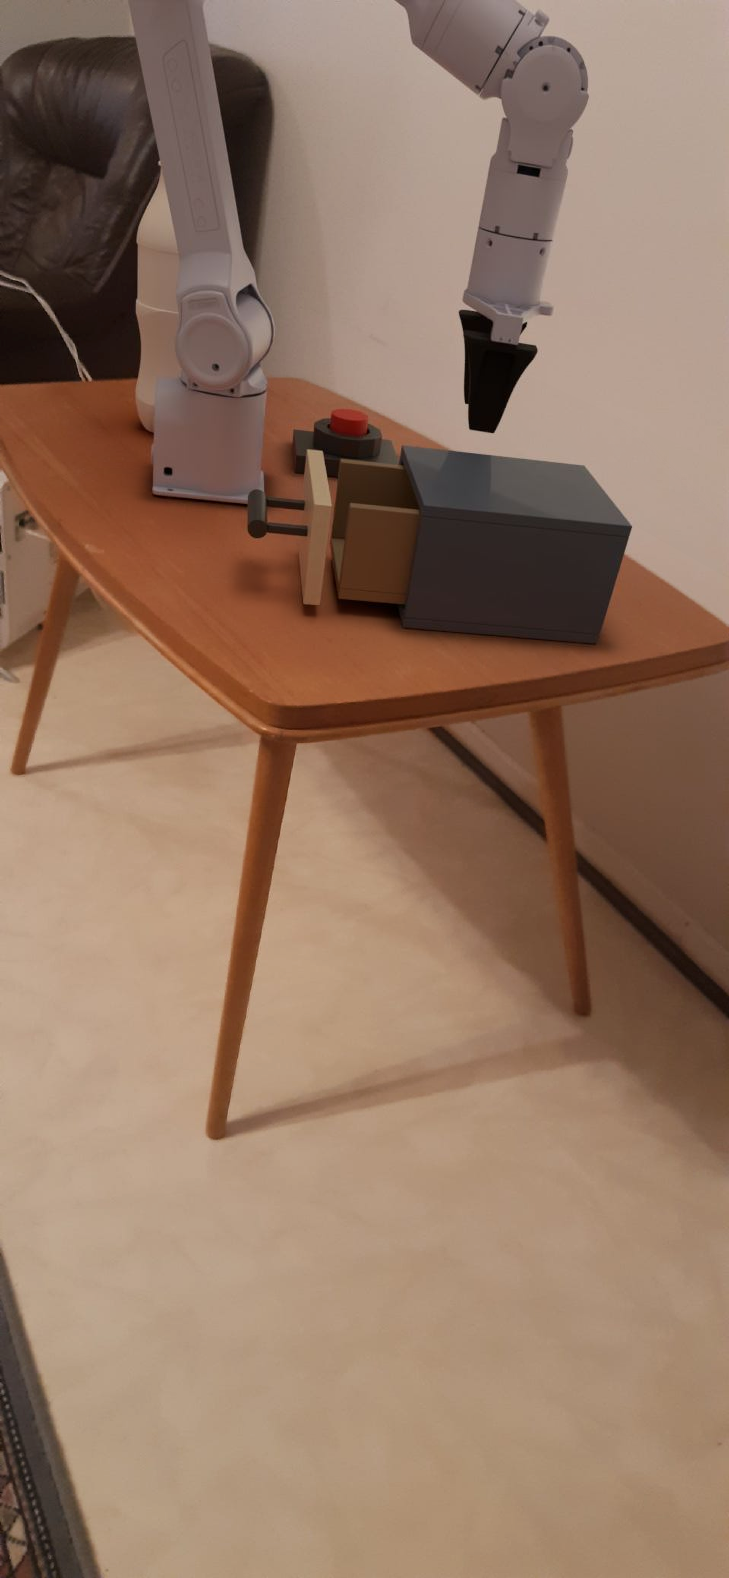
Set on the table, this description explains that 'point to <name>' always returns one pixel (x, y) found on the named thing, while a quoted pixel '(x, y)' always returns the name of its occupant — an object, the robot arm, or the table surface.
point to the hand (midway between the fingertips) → (478, 417)
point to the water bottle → (156, 301)
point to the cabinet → (510, 547)
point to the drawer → (349, 529)
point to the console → (341, 447)
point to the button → (349, 422)
